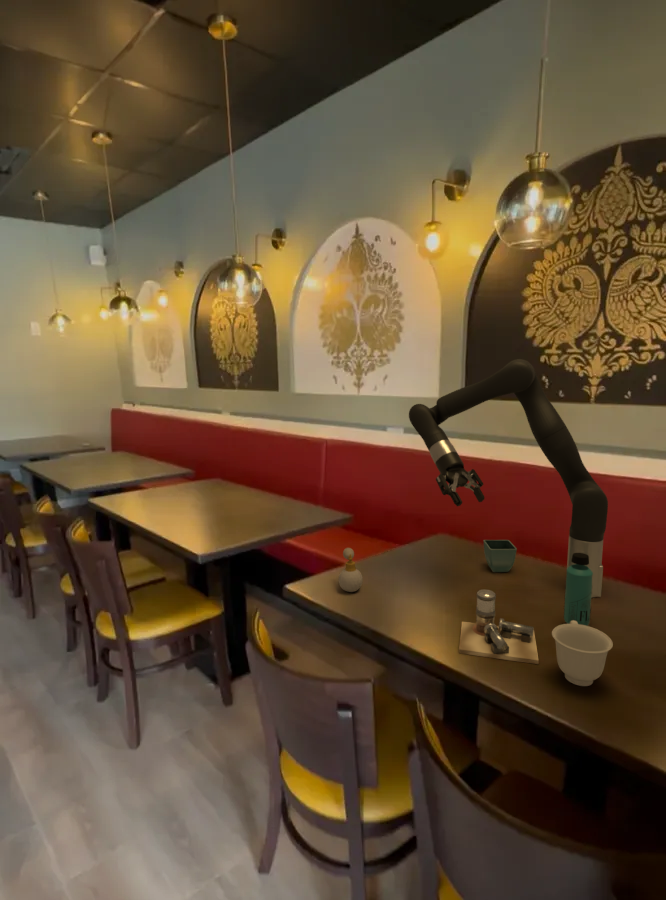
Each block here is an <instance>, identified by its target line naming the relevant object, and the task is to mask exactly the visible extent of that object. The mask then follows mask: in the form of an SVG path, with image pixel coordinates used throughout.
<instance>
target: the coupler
mask: <svg viewBox="0 0 666 900" xmlns="http://www.w3.org/2000/svg"><path fill="white" fill-rule="evenodd" d="M496 597H497V594H496V593H495V592H494V591H493V590H491V589H478V591H477V592H476V607H475V608H476V609H475V615H476V620H475V623H476V630H477V631H478V632H480V633H484V634H485V632H484V627H485V625H486V624H488V623H494V624H495V617H496V599H497V598H496Z"/></svg>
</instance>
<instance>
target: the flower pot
mask: <svg viewBox="0 0 666 900" xmlns="http://www.w3.org/2000/svg"><path fill="white" fill-rule="evenodd" d="M517 550H518V549H517V547H516V546H515V545H514V544H513V543H512V542H511V541H510V540H509V539H483V552H484V557H485V560H486V563H487V565H488V567H489V568H490V570H491V571H492V572H493V573H508V572H510V570H511V569H512V568H513V566H514V565H515V560H516V555H517Z"/></svg>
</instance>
